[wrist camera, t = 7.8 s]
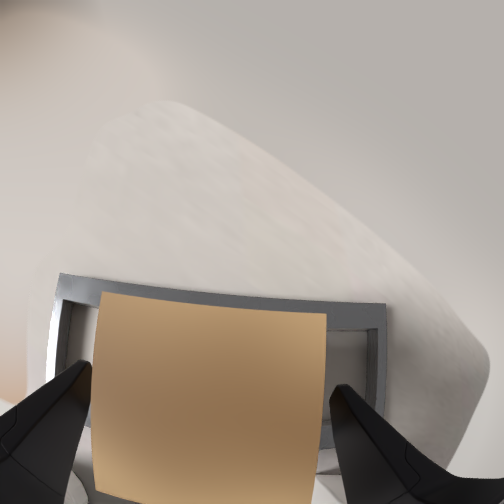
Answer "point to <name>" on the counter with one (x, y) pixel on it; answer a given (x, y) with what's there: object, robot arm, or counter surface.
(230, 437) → the oak block
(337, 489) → the jar
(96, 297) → the rail plate
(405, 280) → the counter surface
